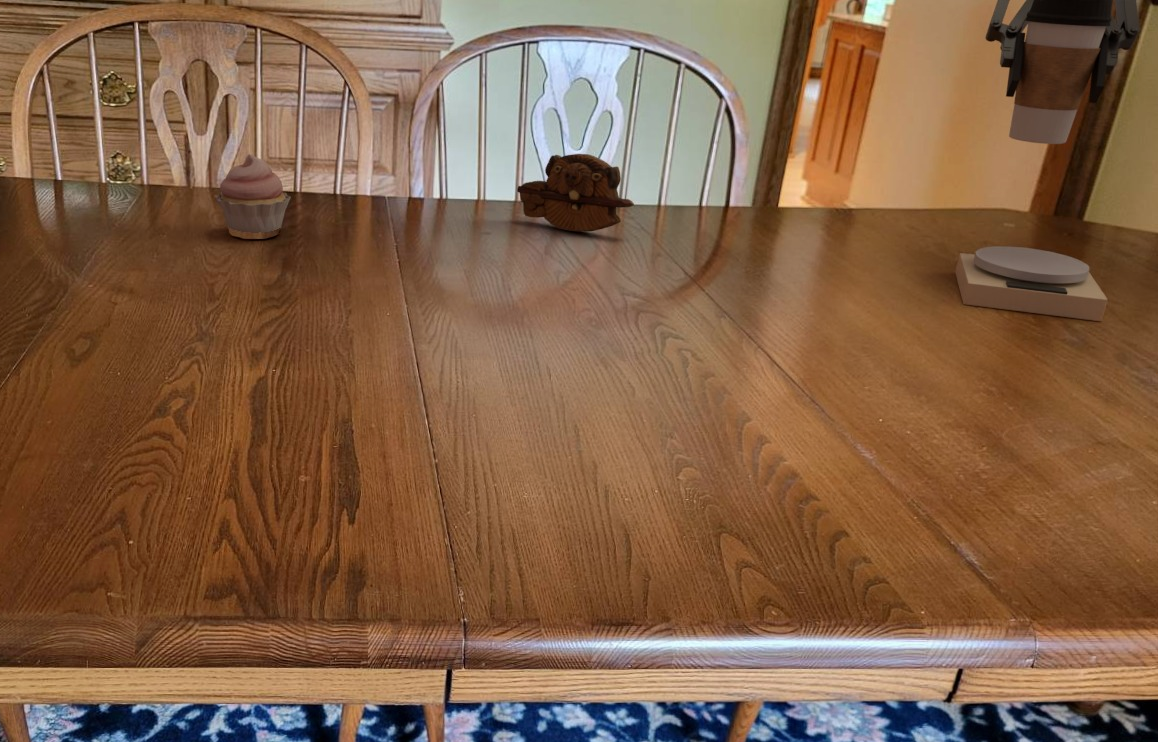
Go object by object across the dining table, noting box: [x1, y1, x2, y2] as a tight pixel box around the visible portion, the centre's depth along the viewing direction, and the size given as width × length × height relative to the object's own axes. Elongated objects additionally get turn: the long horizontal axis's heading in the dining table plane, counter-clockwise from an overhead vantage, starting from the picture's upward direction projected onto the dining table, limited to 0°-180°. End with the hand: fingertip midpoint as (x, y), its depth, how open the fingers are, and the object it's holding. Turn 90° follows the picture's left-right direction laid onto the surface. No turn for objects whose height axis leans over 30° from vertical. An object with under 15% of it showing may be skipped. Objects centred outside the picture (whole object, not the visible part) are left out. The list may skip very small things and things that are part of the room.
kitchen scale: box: [954, 245, 1109, 322], centre depth 126 cm, size 14×14×4 cm
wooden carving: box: [516, 153, 635, 233], centre depth 145 cm, size 16×5×10 cm, turn 60°
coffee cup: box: [1008, 0, 1114, 145], centre depth 121 cm, size 8×8×15 cm
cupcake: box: [214, 153, 291, 233], centre depth 137 cm, size 9×9×10 cm
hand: (1054, 91), depth 119 cm, fingers closed on coffee cup, 8 cm apart
